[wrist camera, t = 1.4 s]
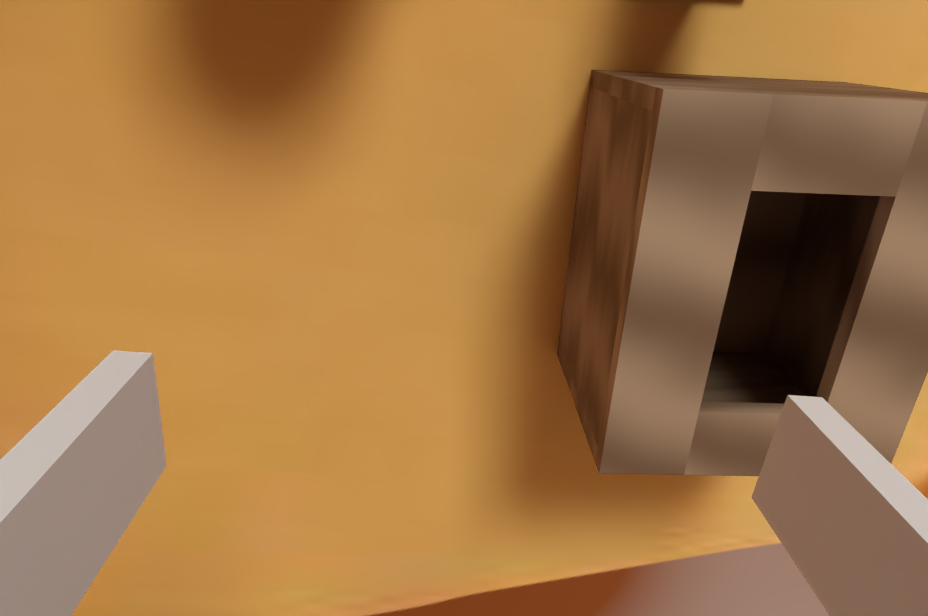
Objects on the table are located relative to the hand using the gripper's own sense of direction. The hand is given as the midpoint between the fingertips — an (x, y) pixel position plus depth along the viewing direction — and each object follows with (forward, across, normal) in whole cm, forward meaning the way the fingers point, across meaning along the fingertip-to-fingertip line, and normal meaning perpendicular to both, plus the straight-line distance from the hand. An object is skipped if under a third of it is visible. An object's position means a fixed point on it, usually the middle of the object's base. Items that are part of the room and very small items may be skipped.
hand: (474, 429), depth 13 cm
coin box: (+22, +13, -1) cm, 26 cm away
